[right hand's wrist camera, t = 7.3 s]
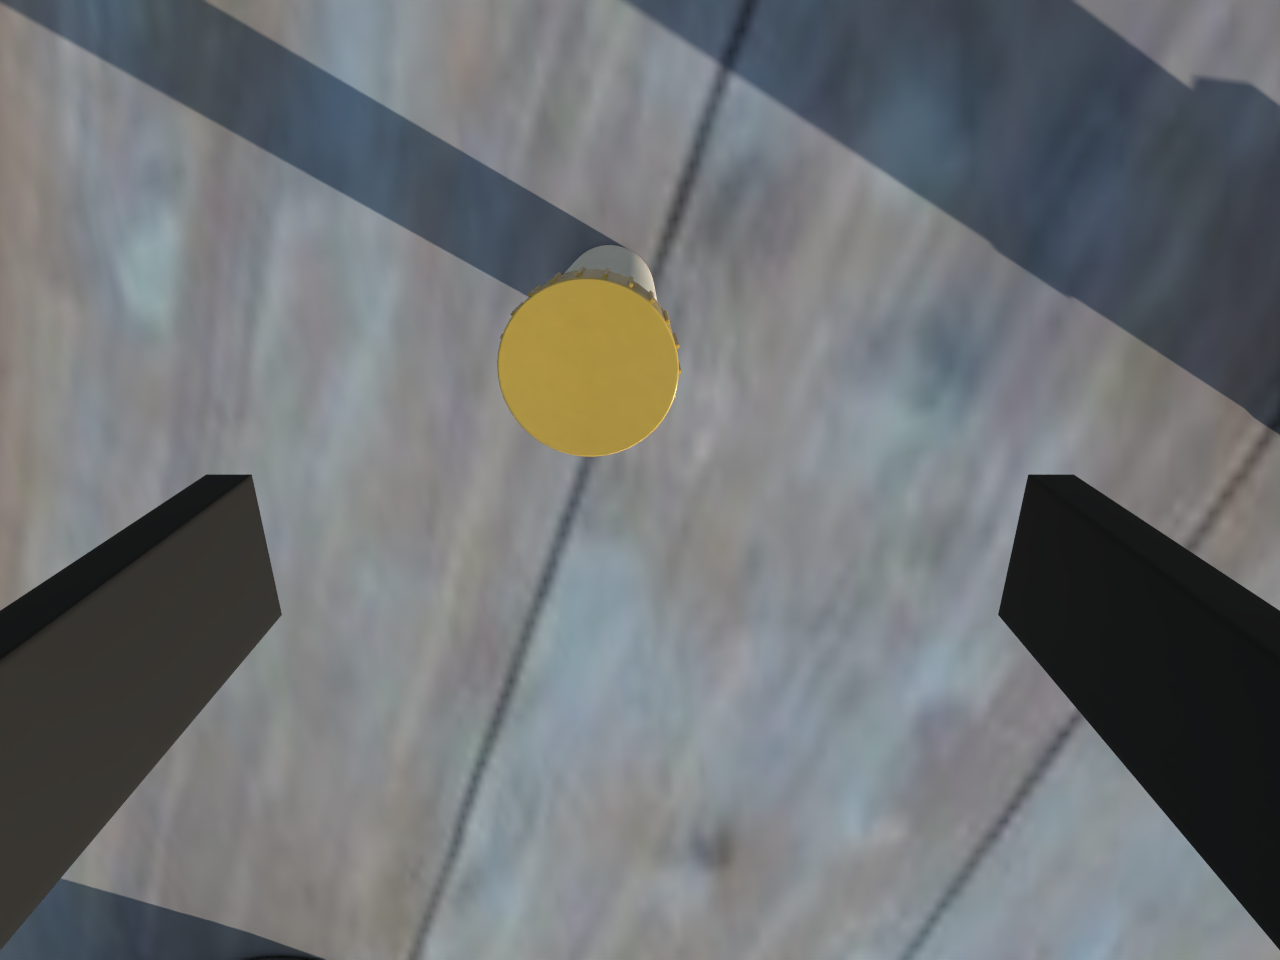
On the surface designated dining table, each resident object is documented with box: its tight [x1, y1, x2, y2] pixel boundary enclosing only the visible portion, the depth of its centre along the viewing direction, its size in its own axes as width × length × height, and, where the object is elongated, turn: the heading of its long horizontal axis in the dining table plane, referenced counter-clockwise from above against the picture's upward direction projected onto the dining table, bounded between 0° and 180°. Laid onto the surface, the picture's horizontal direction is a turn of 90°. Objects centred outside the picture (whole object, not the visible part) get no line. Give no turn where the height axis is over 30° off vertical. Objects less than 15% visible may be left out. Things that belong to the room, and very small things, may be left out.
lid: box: [497, 266, 681, 456], centre depth 20 cm, size 5×5×2 cm
